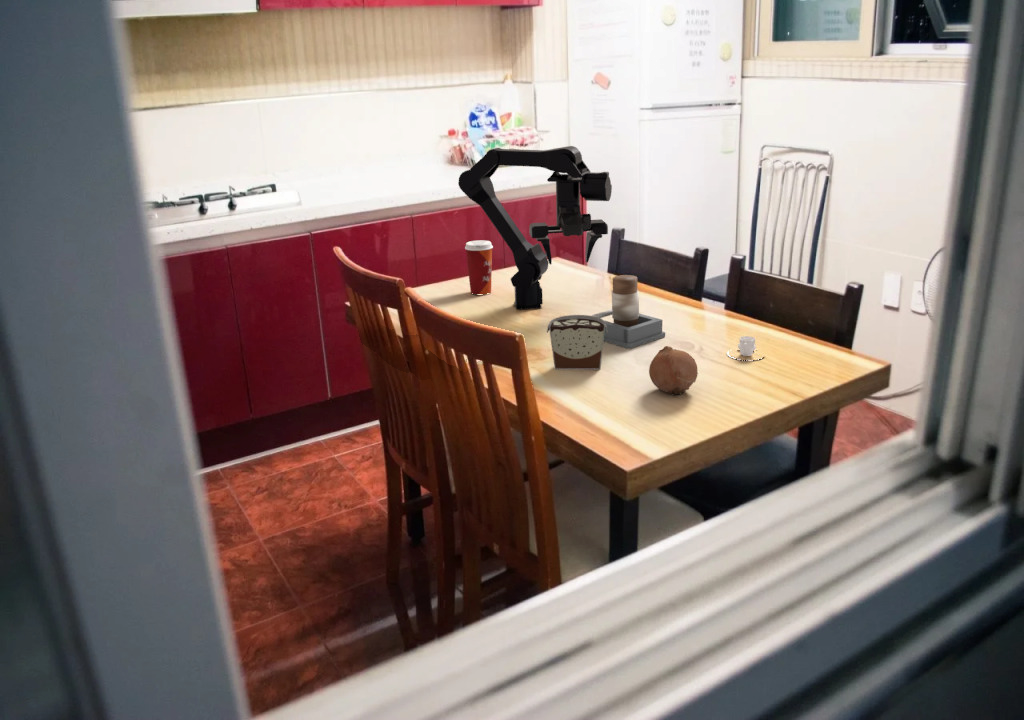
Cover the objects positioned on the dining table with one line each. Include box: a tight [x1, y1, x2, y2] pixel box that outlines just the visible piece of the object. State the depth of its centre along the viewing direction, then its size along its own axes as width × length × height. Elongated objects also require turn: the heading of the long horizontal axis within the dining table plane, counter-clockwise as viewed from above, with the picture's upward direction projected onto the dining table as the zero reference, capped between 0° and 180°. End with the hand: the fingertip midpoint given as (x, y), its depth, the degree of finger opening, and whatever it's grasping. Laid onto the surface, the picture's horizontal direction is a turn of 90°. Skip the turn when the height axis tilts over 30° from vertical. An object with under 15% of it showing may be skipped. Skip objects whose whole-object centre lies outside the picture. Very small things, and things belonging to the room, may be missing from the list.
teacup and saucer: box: [726, 335, 763, 362], centre depth 175 cm, size 9×8×4 cm
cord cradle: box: [591, 308, 666, 350], centre depth 188 cm, size 12×12×5 cm
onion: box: [648, 345, 699, 395], centre depth 157 cm, size 9×9×10 cm
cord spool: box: [611, 274, 640, 327], centre depth 187 cm, size 6×6×12 cm
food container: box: [546, 314, 608, 371], centre depth 172 cm, size 12×6×10 cm, turn 84°
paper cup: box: [464, 239, 494, 294], centre depth 227 cm, size 8×8×14 cm
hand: (568, 263), depth 207 cm, fingers open, 9 cm apart
